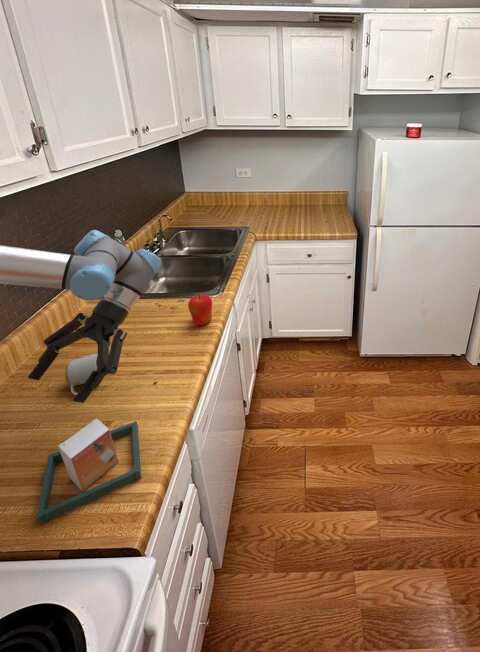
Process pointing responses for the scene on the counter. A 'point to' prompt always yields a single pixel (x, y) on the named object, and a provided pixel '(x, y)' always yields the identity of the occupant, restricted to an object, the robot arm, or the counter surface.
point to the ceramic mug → (80, 370)
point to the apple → (200, 309)
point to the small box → (88, 454)
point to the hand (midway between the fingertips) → (55, 390)
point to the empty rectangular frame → (96, 492)
